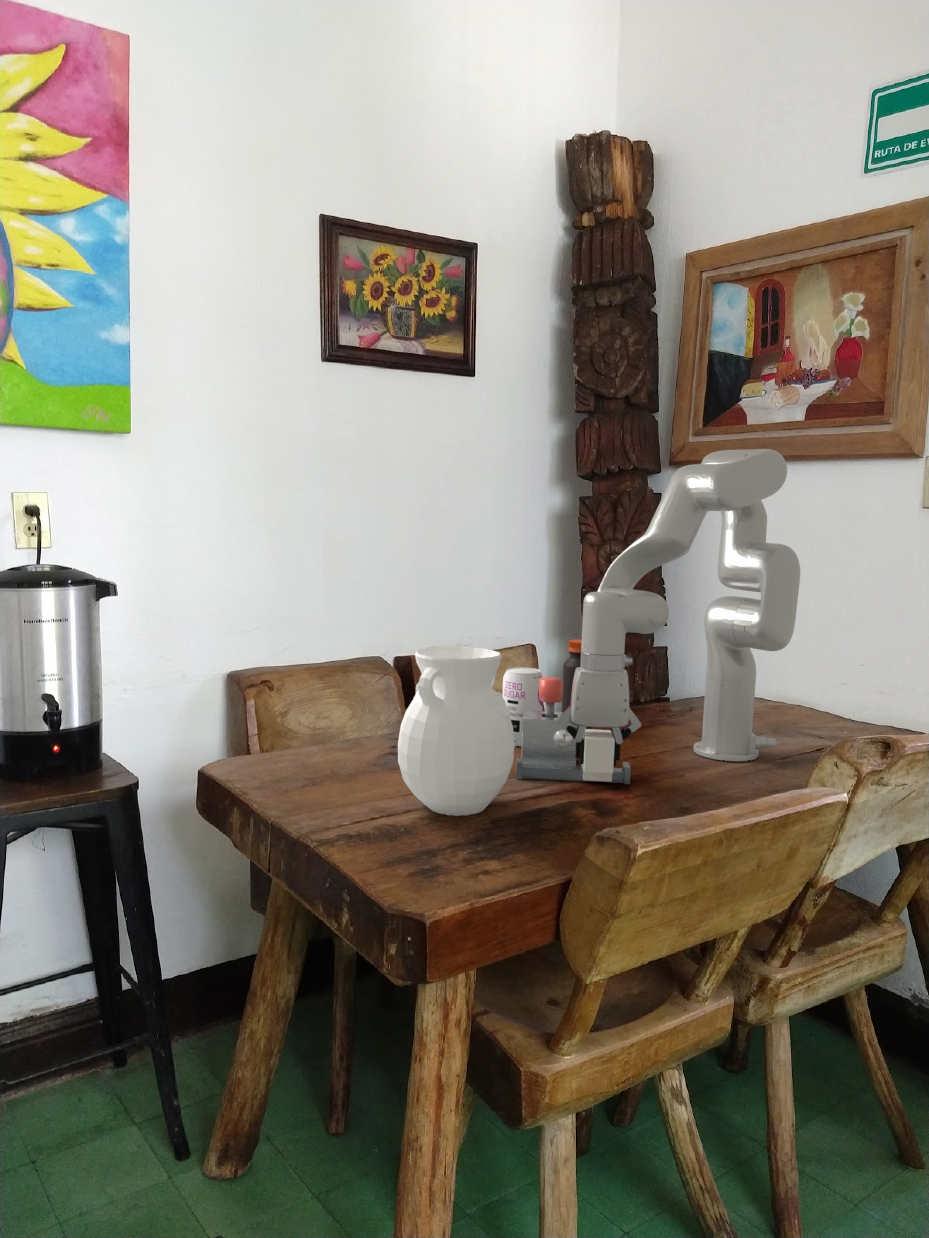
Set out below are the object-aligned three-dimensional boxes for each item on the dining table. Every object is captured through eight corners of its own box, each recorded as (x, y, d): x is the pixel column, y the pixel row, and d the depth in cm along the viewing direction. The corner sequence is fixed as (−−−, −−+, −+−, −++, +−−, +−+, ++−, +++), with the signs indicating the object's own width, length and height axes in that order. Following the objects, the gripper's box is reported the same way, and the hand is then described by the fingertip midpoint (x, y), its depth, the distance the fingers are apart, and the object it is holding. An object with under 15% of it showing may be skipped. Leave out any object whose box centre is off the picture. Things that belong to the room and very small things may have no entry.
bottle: (554, 730, 200) (558, 639, 197) (581, 728, 202) (586, 638, 200) (570, 737, 193) (574, 643, 191) (598, 735, 196) (602, 642, 194)
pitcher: (448, 781, 160) (452, 639, 157) (534, 805, 149) (541, 652, 146) (371, 806, 146) (374, 650, 143) (461, 835, 135) (466, 666, 131)
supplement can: (540, 738, 192) (543, 667, 190) (540, 748, 184) (543, 674, 182) (502, 736, 193) (504, 666, 191) (499, 746, 185) (502, 673, 183)
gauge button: (560, 718, 176) (562, 677, 175) (561, 724, 171) (563, 681, 170) (537, 717, 176) (539, 676, 175) (538, 723, 171) (539, 680, 170)
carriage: (608, 772, 167) (610, 730, 166) (612, 783, 160) (614, 739, 160) (580, 770, 168) (582, 728, 167) (583, 782, 161) (585, 738, 160)
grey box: (573, 758, 178) (575, 712, 177) (575, 769, 170) (577, 721, 169) (521, 756, 178) (523, 710, 177) (521, 766, 171) (523, 719, 170)
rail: (627, 778, 166) (628, 761, 165) (629, 784, 162) (630, 767, 162) (516, 773, 167) (516, 757, 166) (516, 778, 163) (516, 762, 163)
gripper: (648, 660, 165) (642, 759, 167) (552, 657, 166) (548, 755, 168) (654, 668, 157) (648, 771, 160) (554, 664, 158) (549, 766, 160)
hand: (597, 762), depth 164 cm, fingers closed on carriage, 5 cm apart
